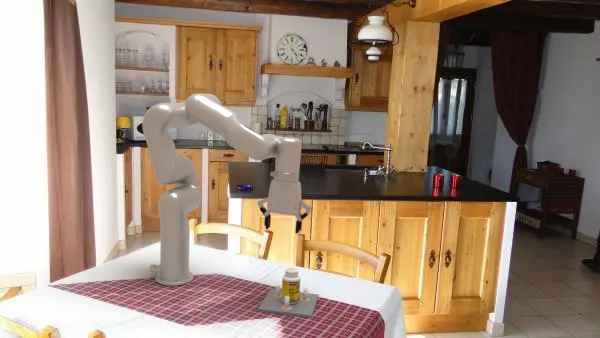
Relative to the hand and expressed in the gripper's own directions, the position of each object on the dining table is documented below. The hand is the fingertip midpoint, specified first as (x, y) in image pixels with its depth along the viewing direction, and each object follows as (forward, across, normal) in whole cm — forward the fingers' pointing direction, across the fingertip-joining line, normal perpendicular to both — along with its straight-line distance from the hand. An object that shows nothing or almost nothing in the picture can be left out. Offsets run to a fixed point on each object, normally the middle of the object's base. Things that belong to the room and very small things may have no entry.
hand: (282, 230), depth 157 cm
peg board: (+22, +5, -4) cm, 23 cm away
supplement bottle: (+21, +5, -4) cm, 22 cm away
